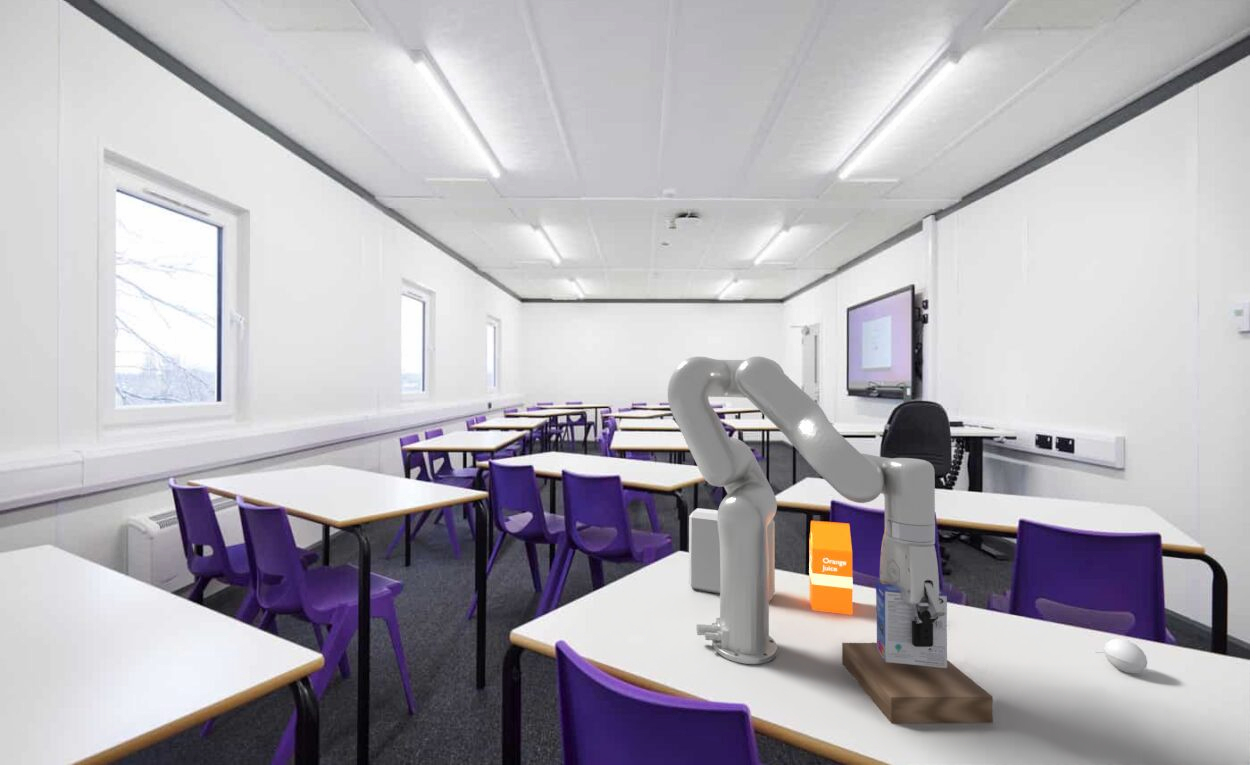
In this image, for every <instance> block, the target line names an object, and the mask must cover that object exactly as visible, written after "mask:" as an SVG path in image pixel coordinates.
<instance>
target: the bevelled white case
mask: <svg viewBox="0 0 1250 765" xmlns="http://www.w3.org/2000/svg"><path fill="white" fill-rule="evenodd" d="M717 515H718V510H717V509H709V508H700V507H699V508H698V507H697V508H695V509H694V510H692V512H691V513H690V514H689V516H688V518H689V520H688V522H689V524H688V585H689V586H690V587H691V589H693V590H697V589H698V591H702V590H703V592H708V593H709V592H710V593H713V594H714V593H715V594H719V595H720V540H719V531H718V522H717ZM775 523H776V522H775V520H774V518H773V519H772V521H771V522H770V523H769V524H768V526H767V541H768V552H769V602H770V601H772V600H773V598H774V595H775V590H776V588H775V586H776V585H775V576H776V575H775V571H776V570H775V569H776V567H775V561H776V560H775V558H776V556H775V552H776V551H775V547H776V545H775V544H776V542H775V541H776V540H775V538H776V537H775V536H776V535H775V534H776V531H775V530H776V527H775V526H776V524H775Z"/></svg>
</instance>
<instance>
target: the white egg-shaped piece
mask: <svg viewBox="0 0 1250 765" xmlns="http://www.w3.org/2000/svg"><path fill="white" fill-rule="evenodd" d="M1095 653H1096V654H1103V653H1104V657H1105V658H1106V660H1107V661H1108V662H1109V663H1110V664H1111V665H1112V666H1113V667H1114V668H1116V669H1118V670H1119V671H1122V672H1123V673H1126V674H1139V673H1142V672H1144V671H1145V669H1146V668H1147V666H1148V658H1147V656H1146V654H1145V652H1144V651H1143V649H1141V648H1140V646H1138V645H1137V644H1136V643H1134V642H1132V641H1129V640H1128V639H1124V638H1113V639H1110V640H1108V641H1107V642H1106V643H1105V644H1104V648H1103V651H1102V652H1095Z"/></svg>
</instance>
